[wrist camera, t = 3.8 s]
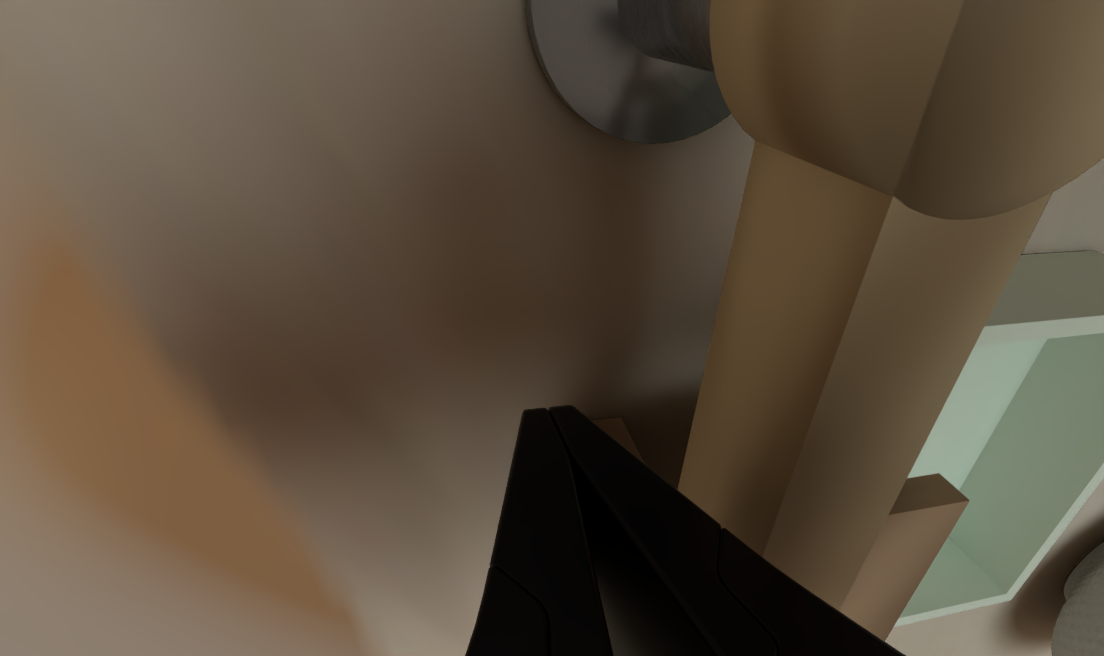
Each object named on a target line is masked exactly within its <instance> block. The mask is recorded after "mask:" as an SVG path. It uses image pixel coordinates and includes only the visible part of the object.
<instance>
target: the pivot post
mask: <svg viewBox="0 0 1104 656" xmlns="http://www.w3.org/2000/svg"><path fill="white" fill-rule="evenodd" d="M524 1H525V14H526V21H527V28H528V33H529V36H530V40H531V44H532V47H533V51H534V53H535V56H536V58H537V61H538V63H539V66H540V68H541V70H542V72H543V73H544V75H545V77H546V79H547V81H548V82H549V84H550V85H551V87H552V88H553V89H554V91H555V92H556V94H557V95H558V96H559V98H560V99H561V100H562V101H563V102H564V103H565V104H566V105H567V106H568V107H569V108H570V109H571V110H572V111H574V112H575V113H576V114H577V115H579V116H580V117H581V118H583V119H584V120H585V121H587V122H588V123H590V124H591V125H593V126H594V127H596V128H598V129H600V130H602V131H603V132H605V133H607V134H609V135H612V136H614V137H617V138H620V139H622V140H627V141H632V142H636V143H648V144H656V143H668V142H673V141H678V140H682V139H685V138H688V137H691V136H694V135H697V134H699V133H701V132H703V131H705V130H707V129H709V128H711V127H713V126H714V125H716V124H717V123H719V122H720V121H722V120H723V119H725V118H726V117H728V116H729V115H730V114H731V112H730V110H729V108H728V106H727V104H726V102H725V101H724V98H723V96H722V93H721V90H720V88H719V85H718V82H717V79H716V75H715V70H714V66H713V62H712V54H711V45H710V6H711V0H524Z"/></svg>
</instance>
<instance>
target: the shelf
mask: <svg viewBox="0 0 1104 656" xmlns="http://www.w3.org/2000/svg"><path fill="white" fill-rule="evenodd" d="M591 421H593V422H594V423H595V424H596V425H598V426H599V427H600V428H601V429H603V430H604V431H605V432H606V433H608V434H609V435H610V436H611V437H613V438H614V439H615V440H616V441H617V442H619V443H620V444H621V445H622V446H624V447H625V448H626V449H627V450H629V451H630V452H631V453H632V454H634V455H635V456H636V457H637V458H639V459H640V460H641V461H642V462H644V461H643V459H642V458H641V456H640V454H639V452H638V450H637V448H636V446H635V444H634V442H633V440H632V438H631V436H630V434H629V432H628V430H627V429H626V427H625V425H624V423H623V421H622V419H621V417H615V418H606V419H598V420H591ZM969 501H970V500H969V499H968V498H967V497H965V496H964V495H963V494H962V493H961V492H960V491H959V490H958V489H956V488H955V487H954V486H953V485H952V484H951V483H950V482H949V481H947V480H946V479H945V478H944V477H943V476H942V475H941V474H940V473H937V474H931V475H924V476H918V477H912V478H907V479H906V481H905V483H904V485H903V487H902V489H901V491H900V493H899V495H898V497H897V499H896V501H895V503H894V505H893V507H892V509H891V511H890V513H889V515H888V517H887V519H886V521H885V523H884V524H883V526H882V528H881V530H880V532H879V534H878V536H877V538H876V540H875V542H874V544H873V546H872V548H871V550H870V552H869V554H868V556H867V558H866V560H865V562H864V564H863V566H862V568H861V570H860V572H859V574H858V575H857V577H856V579H855V581H854V583H853V585H852V587H851V589H850V591H849V593H848V595H847V597H846V599H845V601H844V603H843V605H842V607H841V609H840V612H841V613H843V614H844V615H846V616H847V617H849V618H850V619H852V620H853V621H855V622H856V623H858V624H859V625H861V626H862V627H864V628H865V629H867V630H868V631H869V632H871V633H872V634H874V635H875V636H877V637H878V638H880V639H881V640H883V641H884V642H885V640H886V638H887V637H888V635H889V633H890V632H891V630H892V628H893V627H894V625H895V623H896V622H897V620H898V619H899V617H900V615H901V614H902V612H903V610H904V609H905V607H906V605H907V604H908V602H909V600H910V599H911V597H912V595H913V594H914V592H915V590H916V589H917V587H918V586H919V584H920V582H921V581H922V579H923V577H924V576H925V574H926V572H927V571H928V569H929V567H930V566H931V564H932V562H933V561H934V559H935V557H936V556H937V554H938V553H939V551H940V549H941V548H942V546H943V544H944V543H945V541H946V539H947V538H948V536H949V534H950V533H951V531H952V529H953V528H954V526H955V524H956V523H957V521H958V520H959V518H960V516H961V515H962V513H963V511H964V510H965V508H966V506H967V505H968V503H969Z"/></svg>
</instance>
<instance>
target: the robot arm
mask: <svg viewBox="0 0 1104 656" xmlns="http://www.w3.org/2000/svg"><path fill="white" fill-rule="evenodd" d="M465 656H906V655H904V654H902V653H901V652H899V651H898V650H896V649H895V648H893V647H892V646H890V645H889V644H887V643H886V642H884V641H883V640H881V639H880V638H878V637H877V636H875V635H874V634H872V633H871V632H869V631H868V630H867V629H865V628H864V627H862V626H861V625H859V624H858V623H856V622H855V621H853V620H852V619H850V618H849V617H847V616H846V615H844V614H843V613H841V612H840V611H838V610H837V609H835V608H834V607H832V606H831V605H829V604H828V603H826V602H825V601H823V600H822V599H820V598H819V597H817V596H816V595H815V594H813V593H812V592H810V591H809V590H807V589H806V588H804V587H803V586H802V585H800V584H799V583H797V582H796V581H794V580H793V579H792V578H790V577H789V576H787V575H786V574H784V573H783V572H782V571H780V570H779V569H777V568H776V567H775V566H773V565H772V564H771V563H769V562H768V561H767V560H765V559H764V558H763V557H761V556H760V555H759V554H758V553H756V552H755V551H754V550H752V549H751V548H750V547H748V546H747V545H746V544H745V543H743V542H742V541H741V540H740V539H738V538H737V537H736V536H735V535H733V534H732V533H731V532H730V531H728V530H727V529H726V528H722V529H721V525H720V524H719V523H718V522H717V521H716V520H714V519H713V518H712V517H711V516H709V515H708V514H707V513H706V512H704V511H703V510H702V509H701V508H699V507H698V506H697V505H696V504H695V503H693V502H692V501H691V500H690V499H688V498H687V497H686V496H685V495H683V494H682V493H681V492H680V491H678V490H677V489H676V488H675V487H673V486H672V485H671V484H670V483H668V482H667V481H666V480H665V479H663V478H662V477H661V476H660V475H658V474H657V473H656V472H655V471H654V470H652V469H651V468H650V467H649V466H647V465H646V464H645V463H644V462H642V461H641V460H640V459H639V458H637V457H636V456H635V455H634V454H632V453H631V452H630V451H629V450H627V449H626V448H625V447H624V446H622V445H621V444H620V443H619V442H617V441H616V440H615V439H614V438H613V437H611V436H610V435H609V434H608V433H606V432H605V431H604V430H603V429H601V428H600V427H599V426H598V425H596V424H595V423H594V422H593V421H591V420H590V419H589V418H588V417H586V416H585V415H584V414H583V413H581V412H580V411H579V410H578V409H576V408H575V407H574V406H572V405H564V406H555V407H550V408H549V409H548V410H547V409H546V408H536V409H527V410H524V411H523V413H522V417H521V422H520V426H519V431H518V436H517V440H516V445H515V450H514V454H513V459H512V464H511V468H510V473H509V478H508V482H507V487H506V492H505V496H504V501H503V506H502V510H501V515H500V520H499V524H498V529H497V534H496V538H495V543H494V548H493V552H492V557H491V562H490V568H489V570H488V574H487V579H486V584H485V588H484V593H483V597H482V601H481V605H480V609H479V612H478V616H477V620H476V624H475V627H474V630H473V633H472V636H471V639H470V642H469V646H468V649H467V652H466V655H465Z"/></svg>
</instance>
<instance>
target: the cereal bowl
mask: <svg viewBox="0 0 1104 656" xmlns="http://www.w3.org/2000/svg"><path fill="white" fill-rule="evenodd" d="M1064 596H1065V599H1066V602H1065V604H1064V605H1063V606H1062V610H1061V611H1060V613H1059V616H1058V618H1057V620H1056V625H1055V627H1054V629H1053V636H1052V644H1051V645H1052V647H1051V649H1052V656H1104V542H1103V543H1101V544H1100V545H1099V546H1097V547H1096V548H1095V549H1093V550H1092V551H1091V552H1090V553H1089V554H1088V555H1087V556H1086V557H1085V558H1084V559H1083V560H1082V561H1081V562H1080V563H1079V564H1078V565H1077V566H1076V567H1075V569H1074V570H1073V571H1072V572H1071V574H1070V575H1069V577H1068V579H1067V581H1066V583H1065V586H1064Z"/></svg>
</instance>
